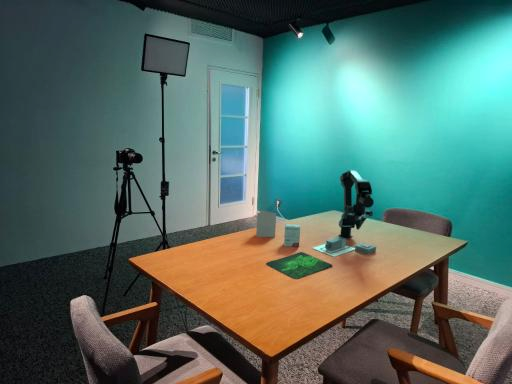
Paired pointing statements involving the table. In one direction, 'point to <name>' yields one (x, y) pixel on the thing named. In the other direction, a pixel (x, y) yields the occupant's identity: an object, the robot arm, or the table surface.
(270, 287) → the table surface
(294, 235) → the ink box
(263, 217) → the greeting card
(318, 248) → the paper sheet
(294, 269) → the mouse mat
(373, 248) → the button frame
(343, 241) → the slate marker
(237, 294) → the table surface
